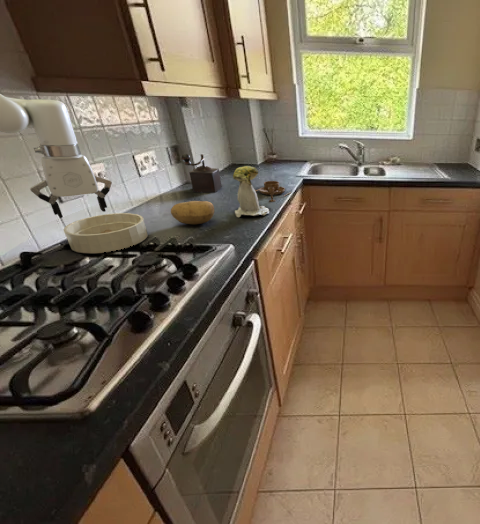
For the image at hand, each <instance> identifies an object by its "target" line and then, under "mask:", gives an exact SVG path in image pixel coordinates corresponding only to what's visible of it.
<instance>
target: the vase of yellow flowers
mask: <svg viewBox="0 0 480 524" xmlns="http://www.w3.org/2000/svg"><path fill="white" fill-rule="evenodd" d="M258 175H259V170H258V169H257V167H254V166H250V165H244V166H240V167H237V168H236V169H235V170H234V172H233V175H232V178H233V179H234V180H235V181H237V182H239V186H238V190H237V202H238V203H239V207H238V209H237V210H234V215H235V216H236V218H240V217H242V216H253V217H257V216H260V215H261V216H265V215H267V214H270V209H269V208H267V207H265V205H260V201H259V198H258V193H257V191H255V190H256V189H255V188H254V186H253V184H252V181H253V180H254V179H256V177H257V176H258Z"/></svg>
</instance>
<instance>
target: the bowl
mask: <svg viewBox="0 0 480 524" xmlns="http://www.w3.org/2000/svg"><path fill="white" fill-rule="evenodd" d="M105 230H112V231H113V232H108V233H101V232H104V231H105ZM63 233H64V236H65V237H66V240H67V242H68V245H69V247H70V249H71V251H74V252H76V253H81V254H105V253H104V252H106V253H111V251H113V252H117V251H116V250H118V251H122V250H125V249H128V248H131V247H134V246H136V245H138V244H140V243H142V242H143V241H145V240H146V239H147V238H148V236H149V235H148V233H149V232H148V229H147V226H146V223H145V218H144V216H142V215H140V214H137V213H130V212H115V213H105V214H97V215H93V216H88V217H85V218H82V219H78V220H75V221H73V222H71V223H69V224H67V225H66V226H64V228H63ZM133 245H134V246H133ZM130 246H131V247H130ZM124 248H125V249H124ZM121 249H122V250H121Z"/></svg>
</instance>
